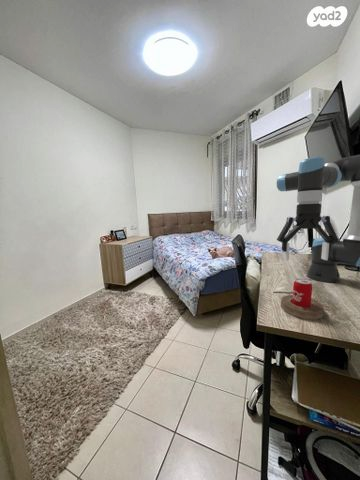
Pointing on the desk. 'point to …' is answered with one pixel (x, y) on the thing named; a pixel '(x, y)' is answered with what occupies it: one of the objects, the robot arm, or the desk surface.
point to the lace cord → (283, 291)
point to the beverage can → (302, 293)
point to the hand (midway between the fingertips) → (305, 259)
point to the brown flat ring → (302, 308)
